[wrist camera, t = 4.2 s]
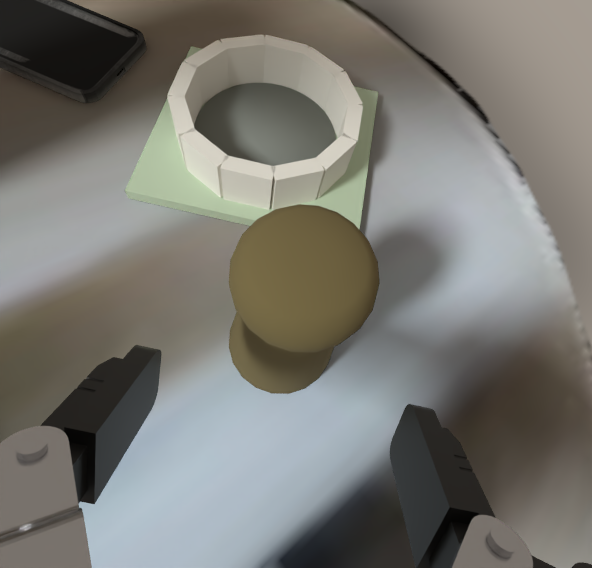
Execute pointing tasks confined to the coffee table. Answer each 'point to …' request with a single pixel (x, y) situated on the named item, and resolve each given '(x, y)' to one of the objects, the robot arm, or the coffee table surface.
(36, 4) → the phone
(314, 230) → the cork
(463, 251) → the coffee table surface
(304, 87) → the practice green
